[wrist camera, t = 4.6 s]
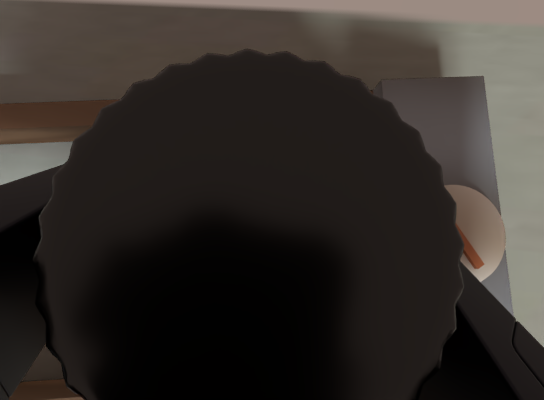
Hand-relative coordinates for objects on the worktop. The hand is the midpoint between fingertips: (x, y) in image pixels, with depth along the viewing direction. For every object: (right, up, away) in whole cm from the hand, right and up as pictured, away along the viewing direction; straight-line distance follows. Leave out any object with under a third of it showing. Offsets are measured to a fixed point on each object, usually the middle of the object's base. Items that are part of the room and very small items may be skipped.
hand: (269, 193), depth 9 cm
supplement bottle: (-1, -2, +7) cm, 7 cm away
